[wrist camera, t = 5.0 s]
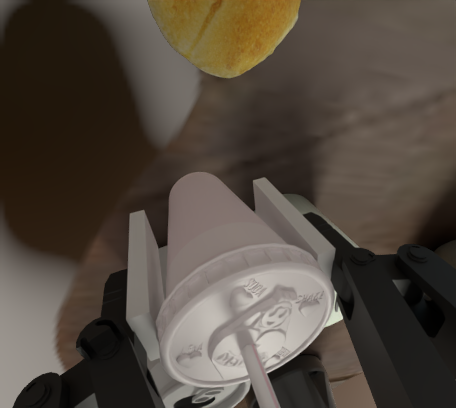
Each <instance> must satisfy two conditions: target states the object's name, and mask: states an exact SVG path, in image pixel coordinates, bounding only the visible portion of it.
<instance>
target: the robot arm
mask: <svg viewBox="0 0 456 408" xmlns="http://www.w3.org/2000/svg"><path fill="white" fill-rule="evenodd" d="M253 188H254V199H255V211H256V215H257V216H258V217H259V218H260V219H262V220H263V221H264V222H265V223H266V224H267V225H268V226H269V227H270V228H271V229H272V230H273V231H274V232H276V233H277V234H278V235H279V236H280V237H281V238H282V239H283V240H284V241H285V242H286V243H287V244H289V245H294V246H296V247H298V248H301V249H303V250H305V251H307V252H309V253H310V254H311V255H312V256H313V257H314V259H315V260H316V261H317V262H318V263H319V264H320V267H321V270H322V271H323V272H324V273H325V274H326V275H327V276H328V278H329V279H330V281H331V282H332V285H333V287H334V290H335V291H336V293H337V294H336V300H335V307H334V308H335V312H338V307H339V308H340V311H341V314H342V316H343V319H344V322H345V324H346V327H347V330H348V332H349V335H350V338H351V340H352V343H353V345H354V348H355V351H356V353H357V356H358V359H359V361H360V364H361V367H362V369H363V372H364V374H365V377H366V380H367V382H368V385H369V387H370V390H371V393H372V396H373V398H374V401H375V404H376V406H377V408H456V269H455V268H454V267H452V266H451V265H450V264H448V263H447V262H446V261H444V260H443V259H442V258H440V257H439V256H438V255H437V254H435V253H434V252H433V251H431V250H429V249H428V248H426V247H423V246H420V245H415V244H405V245H402V246H400V247H399V249H398V251H397V254H390V255H375V254H374V253H373V252H371V251H369V250H367V249H363V248H356V247H354V246H353V245H352V244H351V243H350V242H349V241H347V240H346V239H345V238H344V237H343V236H342V235H341V234H340V233H339V232H338V231H337V230H335V229H333V227H332V226H331V225H330V224H328V222H327V221H326V220H324V219H323V218H322V217H321V216H319V215H317V214H315V213H313V212H309V213H306V214H303V215H302V214H301V213H300V212H299V211H298V210H297V209H296V208H295V207H294V206H293V205H292V204H291V203H290V202H289V201H288V200H287V199H286V198H285V197H284V196H283V195H282V194H281V193H280V192H279V191H278V190H277V189H276V188H275V187H274V186H273V185H272V184H271V183H270V182H269V181H268V180H267V179H266V178H265V177H264V178H260V179H257V180H253ZM425 294H426V295H427V296H426V295H425ZM428 296H429V297H430V298H429V297H428ZM163 302H164V294H163V285H162V276H161V268H160V259H159V250H158V245H157V243H156V240H155V237H154V235H153V232H152V229H151V227H150V224H149V222H148V219H147V216H146V214H145V211H144V210H141V211H138V212H134V213H130V221H129V250H128V269H125V270H122V271H119V272H115V273H112V274H111V275H110V276H109V278H108V280H107V282H106V283H105V288H104V296H103V305H102V311H101V317H100V318H98V319H95V320H93V321H92V322H91V323H89V324H88V325H87V326H86V327H85V328H84V329H83V330H82V332H81V333H80V335H79V337H78V339H77V342H76V349H77V350H78V351H79V353H80V354H81V355H82V356H83V357H84V358H85V359H83V360H82V361H81V362H79V363H78V364H77V365H75V366H74V367H72V368H71V369H69V370H68V371H66V372H65V373H63V374H62V375H60V376H59V375H58V374H57V373H52V372H50V373H46V374H42V375H40V376H39V377H37V378H35V379H33V380H32V381H31V382H30V383H29V384H28V385H27V386H26V387H25V388H24V389H23V390H22V391H21V393H20V394H19V396H18V397H17V399H16V401H15V403H14V406H13V408H165V405H164V403H163V401H162V398H161V396H160V393H159V391H158V389H157V386H156V384H155V381H154V379H153V377H152V374H151V372H150V371H149V369H148V367H147V356H148V357H149V359H150V361H153V360H155V359H158V358H160V356H159V342H158V340H157V338H156V319H157V317H158V314H159V311H160V309H161V306H162V303H163ZM267 375H268V378H269V380H270V383H271V385H272V388H273V390H274V392H275V395H276V397H277V400H278V402H279V405H280V407H281V408H336V405H335V401H334V397H333V394H332V390H331V386H330V383H329V379H328V375H327V372H326V370H325V368H324V366H323V365H322V363H321V361H320V360H319V358H317V357H316V356H312V355H302V356H296V357H294V358H293V359H291V360H290V361H288V362H287V363H285V364H284V365H282V366H280V367H278V368H277V369H275V370H273V371H271V372H269V373H267ZM245 400H246V403H247V406H248V408H260V407H259V404H258V401H257V398H256V395H255V392H254V389H253V386H252V384H250V388H249V391H248V393H247V394H246V395H245Z"/></svg>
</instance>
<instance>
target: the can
mask: <svg viewBox="0 0 456 408" xmlns="http://www.w3.org/2000/svg"><path fill="white" fill-rule="evenodd" d="M167 246H168V245H167ZM167 246H164V247H162V248H159V249H158V250H159V259H160V268H161V276H162V285H163V294H164V300H165V299H166V277H167ZM147 367H148V369H149V371H150V372H151V374H152V377H153V379H154V381H155V384H156V386H157V389H158V391H159V393H160V396H161V398H162V401H163V403H164V405H165V408H233V407H234V406H235V405H237V404H238V403H239V402H240V401H241V400H242V399H243V398H244V397H245V395H246V394H247V393H248V391H249V388H250V384H251V381H250V380H249V381H246V382H243V383H239V384H235V385H230V386H224V387H215V388H202V387H195V386H189V385H186V384H184V383H181V382H179V381H176V380H175V379H173V378H172V377H171V376H169V375H168V374H167V373H166V371H165V370H164V368H163V367H162V365H161V361H160V358H158V359H155V360H153V361H150V359H149V357H148V356H147Z"/></svg>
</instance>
